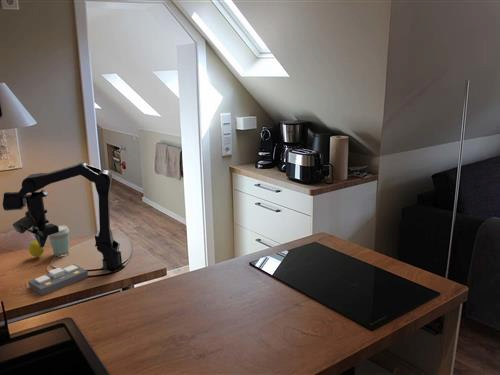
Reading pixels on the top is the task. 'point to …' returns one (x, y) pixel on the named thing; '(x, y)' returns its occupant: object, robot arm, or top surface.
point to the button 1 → (42, 279)
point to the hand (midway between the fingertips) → (42, 246)
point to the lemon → (36, 249)
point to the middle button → (56, 273)
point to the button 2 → (70, 269)
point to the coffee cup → (60, 241)
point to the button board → (58, 281)
